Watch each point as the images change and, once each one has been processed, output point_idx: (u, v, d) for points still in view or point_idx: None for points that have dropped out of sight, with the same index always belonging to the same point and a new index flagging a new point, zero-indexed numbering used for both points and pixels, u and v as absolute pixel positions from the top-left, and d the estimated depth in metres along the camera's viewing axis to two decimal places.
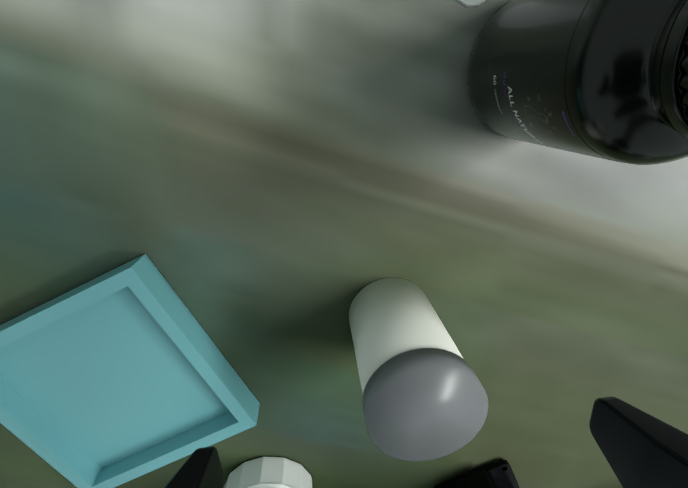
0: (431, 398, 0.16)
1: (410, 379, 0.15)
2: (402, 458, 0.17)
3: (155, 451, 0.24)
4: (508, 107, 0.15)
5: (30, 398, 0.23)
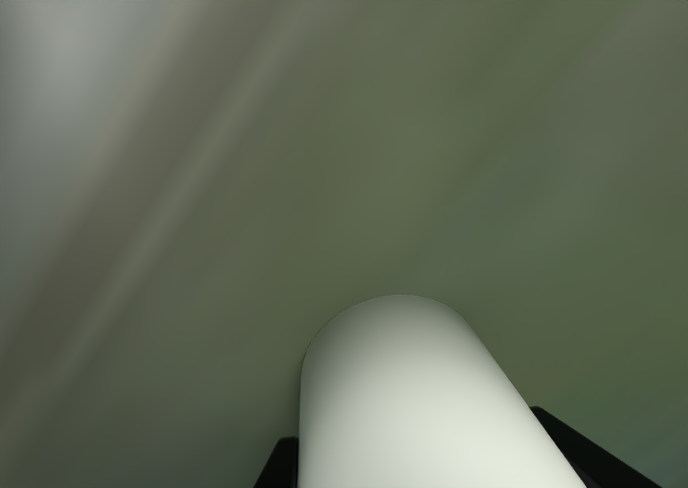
0: None
1: None
2: None
3: None
4: None
5: None
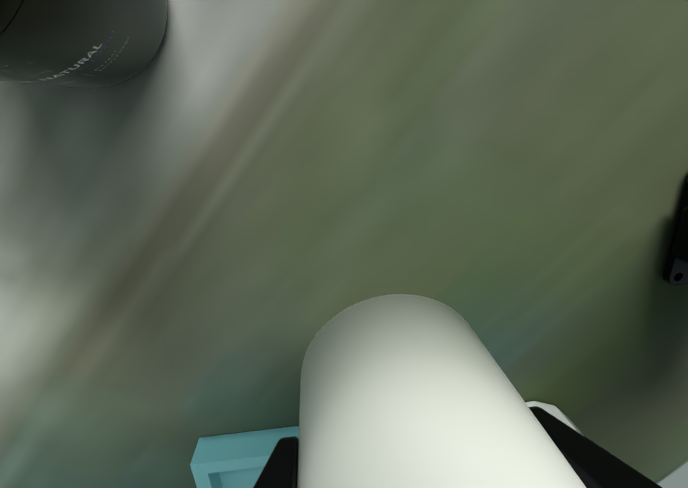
0: None
1: None
2: None
3: None
4: (45, 81, 0.11)
5: None
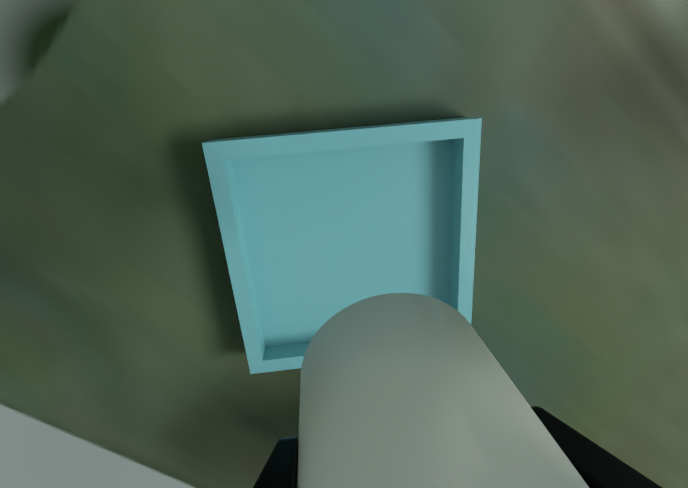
0: None
1: None
2: None
3: None
4: None
5: (249, 233, 0.19)
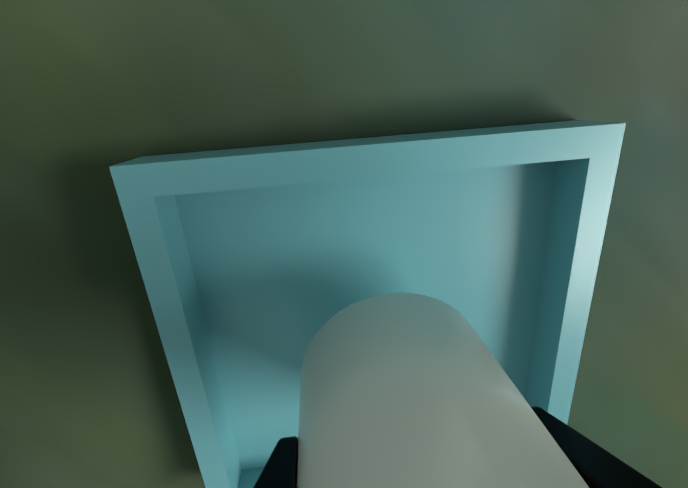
0: None
1: None
2: None
3: None
4: None
5: (211, 310, 0.12)
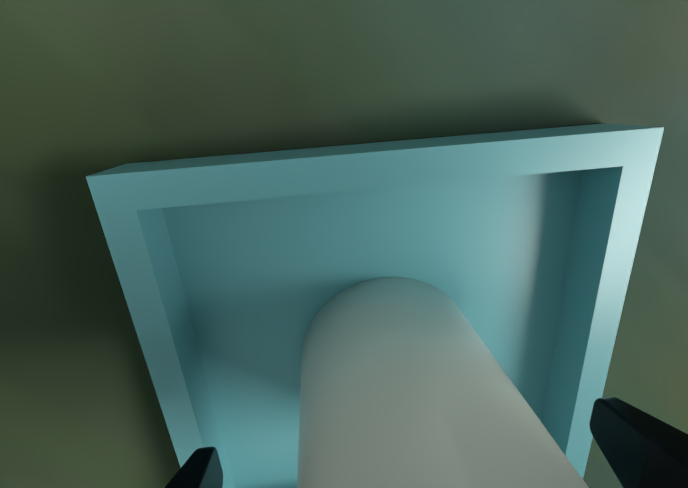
0: None
1: None
2: None
3: None
4: None
5: (204, 330, 0.11)
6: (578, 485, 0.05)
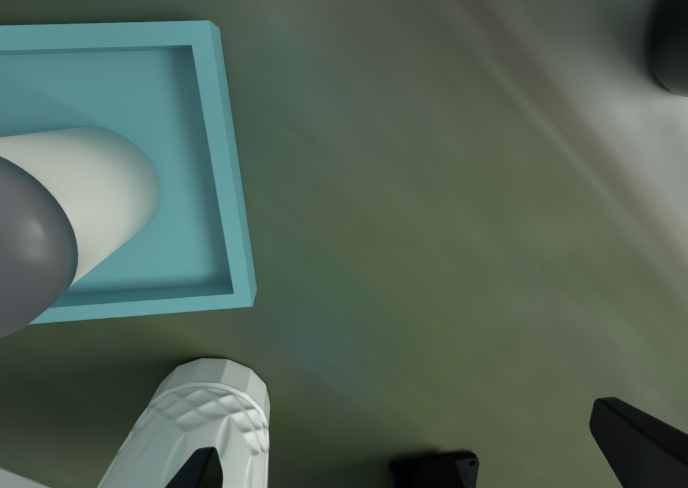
0: None
1: None
2: (41, 312, 0.10)
3: (106, 297, 0.18)
4: None
5: None
6: (42, 161, 0.11)
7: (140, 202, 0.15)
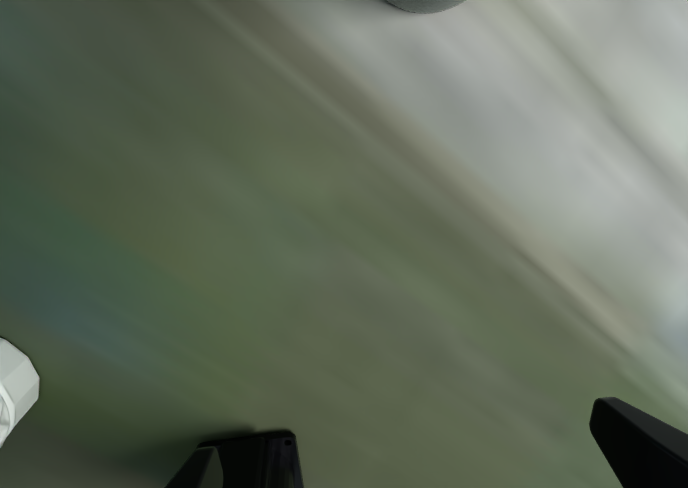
0: None
1: None
2: None
3: None
4: None
5: None
6: None
7: None
